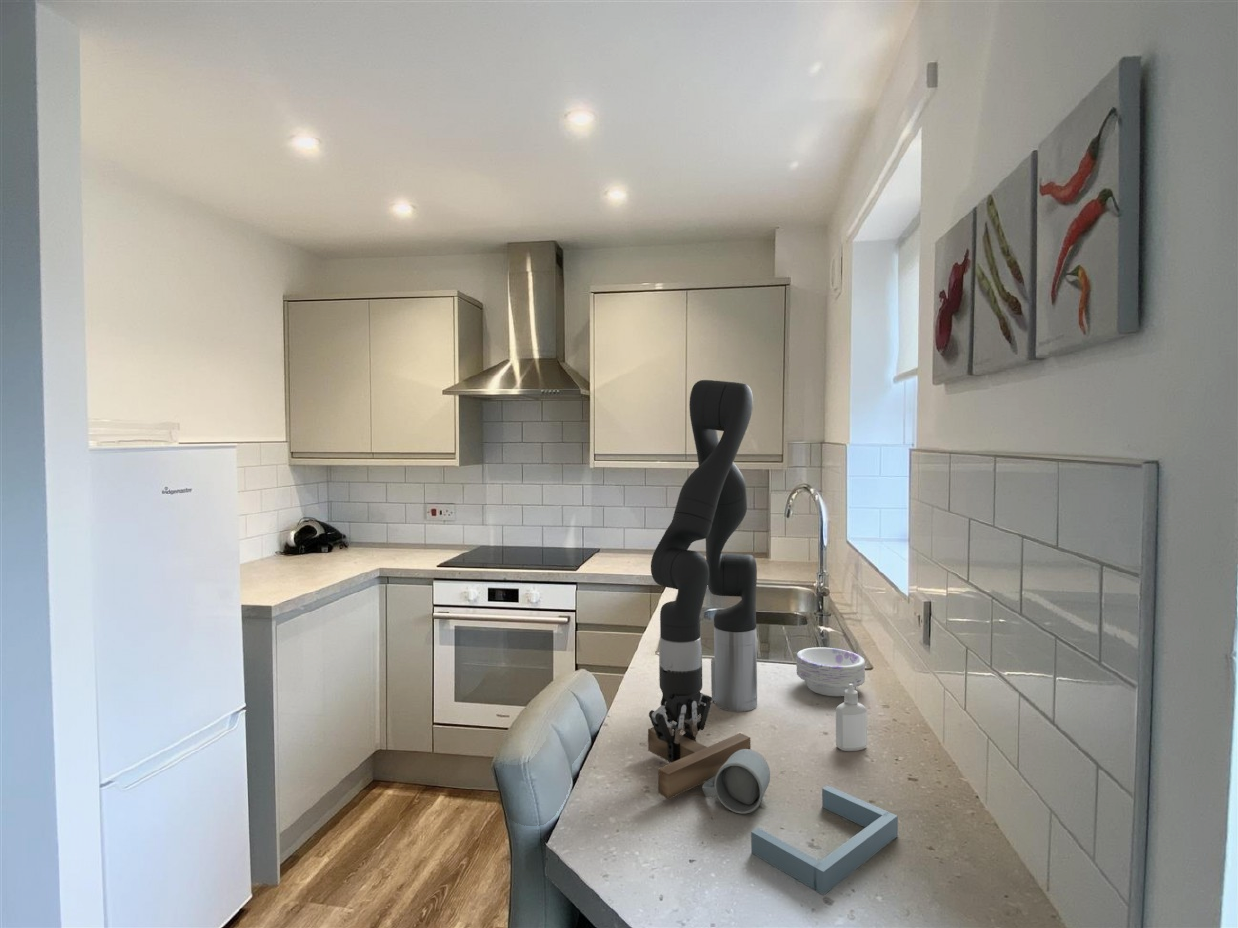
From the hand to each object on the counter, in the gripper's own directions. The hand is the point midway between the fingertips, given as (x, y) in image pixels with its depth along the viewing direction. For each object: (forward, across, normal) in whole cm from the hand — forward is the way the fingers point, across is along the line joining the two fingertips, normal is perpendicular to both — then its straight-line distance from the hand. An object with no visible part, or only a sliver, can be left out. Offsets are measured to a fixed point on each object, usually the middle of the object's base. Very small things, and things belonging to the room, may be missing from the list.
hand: (681, 758), depth 115 cm
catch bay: (+2, -1, +29) cm, 29 cm away
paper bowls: (+2, -53, -5) cm, 53 cm away
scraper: (+1, 0, 0) cm, 1 cm away
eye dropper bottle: (+2, -30, +14) cm, 34 cm away
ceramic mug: (+2, 0, +13) cm, 13 cm away
